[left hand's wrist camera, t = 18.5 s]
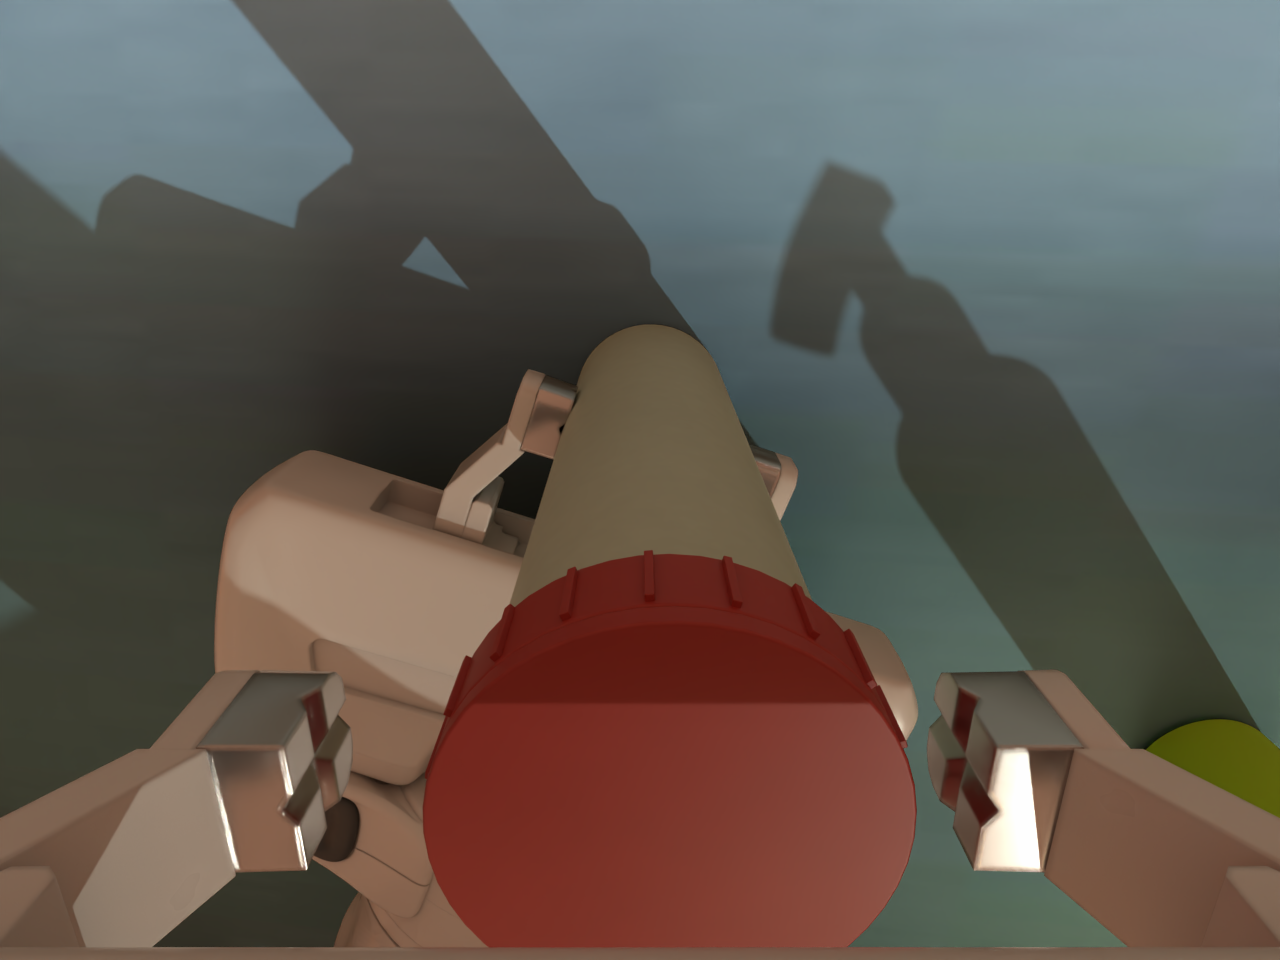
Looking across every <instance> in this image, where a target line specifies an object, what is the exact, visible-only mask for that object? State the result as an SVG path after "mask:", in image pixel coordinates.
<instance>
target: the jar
mask: <svg viewBox="0 0 1280 960" xmlns="http://www.w3.org/2000/svg"><path fill="white" fill-rule="evenodd" d="M577 386H578V390H577V393H576V396H575V399H574V402H573V406H572V409H571V412H570V415H569V417H568V419H567V421H566V423H565V425H564V428H563V431H562V434H561V438H560V441H559V444H558V447H557V451H556V454H555V457H554V461H553V464H552V467H551V470H550V474H549V477H548V480H547V483H546V487H545V490H544V493H543V496H542V500H541V503H540V506H539V509H538V513H537V516H536V519H535V522H534V526H533V529H532V532H531V536H530V539H529V542H528V545H527V549H526V552H525V555H524V558H523V562H522V565H521V568H520V571H519V575H518V578H517V581H516V584H515V588H514V591H513V594H512V598H511V601H510V604H512V605H513V606H514V607H515V606H517V605H518V604H519V603H520V602H522V601H523V600H524V599H525V598H527V597H528V596H529V595H531V594H533V593H534V592H536V591H538V590H539V589H541V588H543V587H544V586H546V585H548V584H549V583H551V582H553V581H555V580H557V579H559V578H561V577H564V576H566V575H567V570H568V569H570V568H572V567H576V568H577V570H580V569H582V568H586V567H589V566H592V565H596V564H599V563H603V562H606V561H609V560H615V559H621V558H627V557H632V556H638V555H644V551H647V550H653V555H655V554H681V555H696V556H704V557H709V558H714V559H720V560H722V559H723V556H728V557H732V560H733V563H736V564H739V565H743V566H746V567H749V568H752V569H755V570H758V571H760V572H763V573H765V574H767V575H769V576H771V577H773V578H776V579H778V580H780V581H782V582H784V583H786V584H788V585H789V586H791V587H792V586H793V585H794V584H795V583H796V584H798V585H799V586H801V587H802V589H803V591H804V594H805V596H807V597H808V598H809V599H811V596H810V594H809V591H808V589H807V586H806V584H805V581H804V579H803V577H802V574H801V572H800V569H799V567H798V564H797V562H796V559H795V557H794V554H793V552H792V550H791V547H790V545H789V542H788V540H787V537H786V535H785V532H784V530H783V527H782V525H781V522H780V520H779V518H778V515H777V513H776V510H775V508H774V505H773V503H772V500H771V498H770V495H769V493H768V490H767V488H766V486H765V483H764V481H763V478H762V476H761V473H760V471H759V468H758V466H757V463H756V461H755V459H754V456H753V454H752V451H751V449H750V446H749V444H748V441H747V439H746V436H745V434H744V431H743V429H742V427H741V424H740V422H739V419H738V417H737V414H736V412H735V409H734V407H733V404H732V402H731V399H730V397H729V395H728V392H727V390H726V387H725V385H724V382H723V380H722V377H721V375H720V372H719V370H718V368H717V365H716V363H715V362H714V360H713V358H712V356H711V355H710V354H709V353H708V351H707V350H706V349H705V348H704V347H703V346H702V345H701V344H700V343H699V342H698V341H697V340H695V339H694V338H693V337H691V336H690V335H688V334H686V333H684V332H682V331H680V330H677V329H675V328H672V327H668V326H664V325H655V324H646V325H638V326H632V327H629V328H626V329H623V330H621V331H618V332H616V333H614V334H613V335H611V336H609V337H608V338H606V339H605V340H604V341H603V342H601V343H600V344H599V345H598V346H597V347H596V348H595V349H594V350H593V351H592V353H591V354H590V356H589V357H588V358H587V360H586V362H585V364H584V366H583V368H582V370H581V373H580V376H579V379H578V382H577ZM811 600H812V599H811Z"/></svg>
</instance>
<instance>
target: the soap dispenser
mask: <svg viewBox="0 0 1280 960" xmlns="http://www.w3.org/2000/svg"><path fill="white" fill-rule="evenodd" d="M1146 751H1148V752H1150V753H1152V754H1154V755H1156V756H1158V757H1160V758H1162V759H1164V760H1166V761H1168V762H1170V763H1172V764H1174V765H1176V766H1178V767H1180V768H1182V769H1184V770H1186V771H1188V772H1190V773H1192V774H1194V775H1196V776H1197V777H1199V778H1201V779H1203V780H1205V781H1207V782H1209V783H1211V784H1213V785H1215V786H1217V787H1219V788H1221V789H1223V790H1225V791H1227V792H1229V793H1231V794H1233V795H1235V796H1237V797H1239V798H1241V799H1243V800H1245V801H1247V802H1249V803H1251V804H1253V805H1255V806H1257V807H1259V808H1261V809H1263V810H1265V811H1267V812H1269V813H1271V814H1273V815H1275V816H1277V817H1279V818H1280V749H1279V748H1278V747H1277V746H1276V745H1274V744H1273V743H1272V742H1271V741H1270V740H1269V739H1268V738H1267V737H1265V736H1264V735H1263V734H1262V733H1261V732H1260V731H1258V730H1257V729H1255V728H1253V727H1252V726H1249V725H1247V724H1244V723H1242V722H1238V721H1233V720H1225V719H1212V720H1203V721H1198V722H1194V723H1190V724H1187V725H1184V726H1182V727H1179V728H1177V729H1175V730H1172V731H1171V732H1169V733H1167V734H1165V735H1164V736H1162V737H1160V738H1159V739H1158V740H1156V741H1155V742H1154V743H1152V744H1151V745H1150V746H1149V747H1148V748H1147V749H1146Z"/></svg>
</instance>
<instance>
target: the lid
mask: <svg viewBox="0 0 1280 960" xmlns="http://www.w3.org/2000/svg"><path fill="white" fill-rule="evenodd" d="M443 715H445V719H444V722H443V724H442V727H441V730H440V733H439V735H438V738H437V741H436V744H435V746H434V749H433V752H432V755H431V758H430V760H429V763H428V766H427V769H426V771H425V779H427V780H426V786H425V793H424V800H423V834H424V839H425V844H426V849H427V854H428V859H429V861H430V864H431V867H432V870H433V872H434V875H435V878H436V880H437V883H438V885H439V886H440V888H441V890H442V892H443V894H444V895H445V897H446V899H447V901H448V902H449V904H450V906H451V907H452V908H453V910H454V911H455V912H456V914H457V915H458V916H459V917H460V919H461V920H462V921H463V923H464V924H465V925H466V926H467V927H468V928H469V929H470V930H471V931H472V932H473V933H474V934H475V935H476V936H477V937H478V938H479V939H480V940H481V941H482V942H483V943H484V944H485V945H486V946H488V947H847V946H849V945H850V944H851V943H852V942H853V941H854V940H855V939H856V938H857V937H858V936H859V935H860V934H862V933H863V932H864V931H865V930H866V929H867V928H868V927H869V926H870V924H871V923H872V922H873V921H874V920H875V918H876V917H877V916H878V915H879V914H880V912H881V911H882V910H883V909H884V907H885V906H886V904H887V903H888V901H889V899H890V898H891V896H892V895H893V893H894V891H895V890H896V888H897V886H898V885H899V882H900V880H901V878H902V875H903V873H904V871H905V868H906V866H907V864H908V861H909V857H910V853H911V849H912V845H913V841H914V836H915V825H916V813H917V808H916V796H915V785H914V781H913V777H912V773H911V769H910V765H909V762H908V758H907V756H906V754H905V752H904V750H903V748H906V747H907V742H906V739H905V737H904V735H903V733H902V731H901V729H900V727H899V725H898V722H897V720H896V718H895V716H894V714H893V712H892V710H891V708H890V705H889V703H888V701H887V699H886V697H885V695H884V693H883V691H882V689H881V686H880V685H877V683H876V681H875V679H874V676H873V674H872V672H871V670H870V668H869V666H868V664H867V661H866V659H865V657H864V655H863V653H862V651H861V649H860V647H859V644H858V642H857V640H856V638H855V636H854V634H853V632H852V631H851V630H850V629H847V630H846V631H843V630H842V629H841V628H840V627H839V626H838V624H837V623H836V622H835V621H834V620H833V619H832V618H831V617H830V615H828V614H827V613H826V612H825V611H824V610H823V609H821V608H820V607H819V606H818V605H817V604H815V603H814V602H813V601H812V600H811V599H809V598H808V597H807V596H805V594H804V591H803V589H802V587H801V586H799V585H798V584H796V583H795V584H794V585H793V586H792V587H791V586H789V585H788V584H786V583H784V582H782V581H780V580H778V579H776V578H773V577H771V576H769V575H767V574H765V573H763V572H760V571H758V570H755V569H752V568H749V567H746V566H743V565H739V564H736V563H733V560H732V557H728V556H723V559H722V560H720V559H714V558H709V557H704V556H696V555H681V554H655V555H653V550H647V551H644V555H638V556H632V557H627V558H621V559H615V560H609V561H606V562H603V563H599V564H596V565H592V566H589V567H586V568H582V569H580V570H577V568H576V567H572V568H570V569H568V570H567V575H566V576H564V577H561V578H559V579H557V580H555V581H553V582H551V583H549V584H548V585H546V586H544V587H543V588H541V589H539V590H538V591H536V592H534V593H533V594H531V595H529V596H528V597H527V598H525V599H524V600H523V601H522V602H520V603H519V604H518V605H517V606H515V607H514V606H513V605H512V604H509V605H508V606H507V607H505V609H504V612H503V615H502V618H501V620H500V621H499V622H498V623H497V624H496V625H495V626H494V627H493V628H492V629H491V630H490V632H489V633H488V634H487V635H486V637H485V638H484V640H483V641H482V643H481V644H480V645H479V647H478V648H477V650H476V651H475V652H474V654H473V656H472V658H471V657H469V656H467V655H466V656H465V658H464V660H463V662H462V664H461V667H460V670H459V673H458V675H457V678H456V681H455V683H454V686H453V689H452V692H451V694H450V697H449V700H448V702H447V705H446V708H445V711H444V713H443Z"/></svg>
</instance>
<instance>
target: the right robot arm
mask: <svg viewBox="0 0 1280 960" xmlns="http://www.w3.org/2000/svg"><path fill="white" fill-rule="evenodd" d="M577 390H578V386H576V385H573V384H570V383H567V382H565V381H562V380H559V379H556V378H553V377H550V376H548V375H545V374H544V373H540V372H537V371H533V370H530V369H528V370H527V372H526V373H525V375H524V377H523V379H522V382H521V384H520V387H519V390H518V392H517V395H516V398H515V401H514V405H513V408H512V411H511V415H510V418H509V421H508V423H507V424H506V425H505V426H503V427H502V428H501V429H500V430H499V431H498V432H496V433H495V434H494V435H493V436H492V437H491V438H490V439H488V440H487V441H486V442H485V443H484V444H483V445H481V446H480V447H479V448H478V449H477V450H476V451H475V452H473V453H472V454H471V455H470V456H469V457H468V458H466V459H465V460H464V461H463V462H462V463H461V464H460V465H459V467H458V468H457V470H456V472H455V473H454V475H453V476H452V478H451V480H450V481H449V483H448V484H447V486H446V488H445V489H444V490H440V489H437V488H434V487H431V486H428V485H425V484H422V483H418V482H415V481H412V480H409V479H406V478H403V477H399V476H396V475H393V474H390V473H387V472H384V471H381V470H377V469H374V468H371V467H368V466H365V465H362V464H358V463H355V462H352V461H349V460H346V459H343V458H340V457H337V456H334V455H331V454H327V453H324V452H321V451H315V450H308V451H304V452H302V453H300V454H298V455H296V456H294V457H292V458H290V459H288V460H287V461H285V462H283V463H281V464H279V465H278V466H276V467H275V468H273V469H272V470H270V471H269V472H267V473H266V474H264V475H263V476H262V477H260V478H259V479H258V480H257V481H256V482H255V483H253V484H252V485H251V486H250V487H249V488H248V489H247V490H246V491H245V492H244V493H243V494H242V496H241V497H240V498H239V499H238V501H237V502H236V504H235V505H234V507H233V509H232V511H231V513H230V516H229V519H228V522H227V527H226V531H225V536H224V541H223V547H222V553H221V560H220V568H219V576H218V586H217V597H216V612H215V638H214V664H215V673H217V672H221V671H224V670H259V671H262V670H280V671H327V672H336V673H337V674H338V675H340V676H341V677H342V680H343V685H344V690H345V696H346V701H345V702H344V704H343V706H342V708H341V710H340V711H339V713H338V715H339V716H340V717H341V718H342V719H343V720H344V721H345V722H346V723H347V724H348V725H349V726H350V727H351V733H352V740H353V762H352V767H351V772H350V776H349V781H348V785H347V787H346V789H345V791H344V793H343V796H342V798H341V800H340V801H339V802H338V803H337V804H335V805H334V806H332V807H331V808H330V809H328V810H327V811H325V818H326V824H327V829H326V831H325V833H324V835H323V837H322V839H321V841H320V843H319V846H318V848H317V850H316V852H315V854H314V856H313V858H312V859H313V860H315V861H316V862H318V863H319V864H321V865H322V866H324V867H326V868H327V869H329V870H330V871H332V872H333V873H334V874H336V875H337V876H339V877H340V878H342V879H343V880H344V881H346V882H347V883H349V884H350V885H351V886H352V887H354V888H355V889H356V890H357V891H359V892H358V893H357V895H356V896H355V898H354V899H353V901H352V903H351V904H350V906H349V908H348V910H347V912H346V914H345V916H344V918H343V920H342V923H341V926H340V928H339V931H338V934H337V937H336V940H335V944H334V947H488V946H486V945H485V944H484V943H483V942H482V941H481V940H480V939H479V938H478V937H477V936H476V935H475V934H474V933H473V932H472V931H471V930H470V929H469V928H468V927H467V926H466V925H465V924H464V923H463V921H462V920H461V919H460V917H459V916H458V915H457V914H456V912H455V911H454V910H453V908H452V907H451V906H450V904H449V902H448V901H447V899H446V897H445V895H444V894H443V892H442V890H441V888H440V886H439V885H438V883H437V880H436V878H435V875H434V872H433V870H432V867H431V864H430V861H429V859H428V854H427V849H426V844H425V839H424V834H423V800H424V793H425V786H426V780H427V779H425V771H426V769H427V766H428V763H429V760H430V758H431V755H432V752H433V749H434V746H435V744H436V741H437V738H438V735H439V733H440V730H441V727H442V724H443V722H444V719H445V715H443V713H444V711H445V708H446V705H447V702H448V700H449V697H450V694H451V692H452V689H453V686H454V683H455V681H456V678H457V675H458V673H459V670H460V667H461V664H462V662H463V660H464V658H465V656H466V655H467V656H469V657H471V658H472V656H473V654H474V652H475V651H476V650H477V648H478V647H479V645H480V644H481V643H482V641H483V640H484V638H485V637H486V635H487V634H488V633H489V632H490V630H491V629H492V628H493V627H494V626H495V625H496V624H497V623H498V622H499V621H500V620H501V618H502V615H503V612H504V609H505V607H507V606H508V605H509V604H510V601H511V598H512V594H513V591H514V588H515V584H516V581H517V578H518V575H519V571H520V568H521V565H522V562H523V558H524V555H525V552H526V549H527V545H528V542H529V539H530V536H531V532H532V529H533V526H534V522H535V519H532V518H529V517H526V516H523V515H519V514H516V513H513V512H510V511H507V510H504V509H500V508H497V506H498V503H499V499H500V496H501V493H502V489H503V486H504V480H503V478H502V477H499V476H498V475H500V474H501V473H502V472H503V471H504V470H505V469H506V468H507V467H509V466H510V465H511V464H512V463H513V462H514V461H515V460H517V459H518V458H519V457H520V456H521V455H522V454H523V453H524V452H525V451H527V452H530V453H533V454H537V455H540V456H543V457H547V458H550V459H553V460H554V457H555V454H556V451H557V447H558V444H559V441H560V438H561V434H562V431H563V428H564V425H565V423H566V421H567V419H568V417H569V415H570V412H571V409H572V406H573V402H574V399H575V396H576V393H577ZM749 446H750V449H751V451H752V454H753V456H754V459H755V461H756V463H757V466H758V468H759V471H760V473H761V476H762V478H763V481H764V483H765V486H766V488H767V490H768V493H769V495H770V498H771V500H772V503H773V505H774V508H775V510H776V513H777V515H778V518H779V520H781V518H782V516H783V514H784V511H785V509H786V507H787V505H788V502H789V500H790V498H791V496H792V493H793V491H794V489H795V487H796V483H797V477H798V469H797V468H796V466H795V464H794V462H793V460H792V458H790V457H787V456H784V455H781V454H778V453H775V452H773V451H770V450H766V449H763V448H760V447H757V446H754V445H751V444H749ZM825 612H826V611H825ZM826 613H827V614H828V615H830V617H831V618H832V619H833V620H834V621H835V622H836V623H837V624H838V626H839V627H840V628H841V629H842V630H843V631H846V630H847V629H850V630H851V631H852V632H853V634H854V636H855V638H856V640H857V642H858V644H859V647H860V649H861V651H862V653H863V655H864V657H865V659H866V661H867V664H868V666H869V668H870V670H871V672H872V674H873V676H874V679H875V681H876V683H877V685H880V686H881V689H882V691H883V693H884V695H885V697H886V699H887V701H888V703H889V705H890V708H891V710H892V712H893V714H894V716H895V718H896V720H897V722H898V725H899V727H900V729H901V731H902V733H903V735H904V737H905V739H906V740H907V739H908V737H909V735H910V733H911V732H912V730H913V728H914V726H915V724H916V721H917V717H918V705H917V700H916V695H915V692H914V689H913V685H912V683H911V680H910V678H909V676H908V673H907V671H906V669H905V667H904V665H903V663H902V661H901V659H900V657H899V656H898V654H897V652H896V651H895V649H894V647H893V645H892V644H891V642H890V640H889V639H888V638H887V636H886V635H885V634H884V633H883V632H882V631H881V630H879V629H878V628H875V627H873V626H870V625H867V624H864V623H861V622H858V621H855V620H852V619H848V618H845V617H842V616H839V615H836V614H833V613H829V612H826Z"/></svg>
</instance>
